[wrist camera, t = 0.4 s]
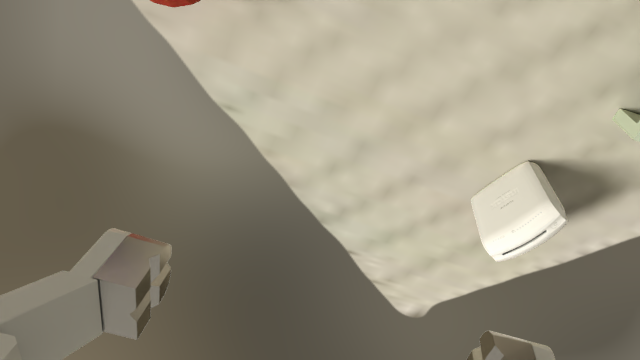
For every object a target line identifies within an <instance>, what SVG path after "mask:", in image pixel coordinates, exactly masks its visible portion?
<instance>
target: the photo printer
mask: <svg viewBox="0 0 640 360" xmlns="http://www.w3.org/2000/svg"><path fill="white" fill-rule="evenodd" d="M471 204H472V208H473V212H474V216H475V220H476V223H477V227H478V231H479V234H480V238H481V241H482V244H483V246H484V248H485V249H486V251H487V252H488V254H489V255H490V256H492V257H493V258H494V259H495V261H497V262H500V261H505V260H509V259H512V258H515V257H517V256H520V255H522V254H524V253H526V252H529V251H531V250H532V249H535V248H536V247H538V246H539V245H541V244H543V243H544V242H546V241H547V240H549V239H550V238H551V237H553V236H554V235H555V234H556V233H558V232H559V231H560V230H561V229H562V228H563V227H564V226H565V225H566V224H567V222H568V218H567V216H566V215H565V210H564V207H563V205H562V204H561V202H560V200H559V198H558V197H557V195H556V193H555V192H554V190H553V188H552V187H551V185H550V183H549V181H548V180H547V178H546V176H545V175H544V173H543V171H542V170H541V168H540V167H539V166H538V165H537V164H535V163H533V162H529V161H526V162H524V163H522V164H520V165H518V166H517V167H515V168H513V169H512V170H510V171H509V172H507V173H506V174H504V175H503V176H501V177H500V178H498V179H497V180H495V181H494V182H492V183H491V184H489V185H488V186H487V187H485V188H484V189H482V190H481V191H480V192H478V193H477V194H476V195H475V196H474V197H473V198H472V199H471Z"/></svg>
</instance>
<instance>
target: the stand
mask: <svg viewBox="0 0 640 360" xmlns="http://www.w3.org/2000/svg"><path fill="white" fill-rule="evenodd" d="M612 120H613V121H614V122H615V123H616V124H617V125H618V126H619V127H620V128H622V129H623V130H624V131H625V132H626V133H627V134H628V135H629V136H630V137H631V138H632V139H633V140H635V141H638V142H640V115H639V114H636V113H633V112H630V111H627V110H623V109H619V110H618V112H617V113H616V114H615V116H614V117H613V119H612Z"/></svg>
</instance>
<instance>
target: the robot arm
mask: <svg viewBox="0 0 640 360" xmlns="http://www.w3.org/2000/svg"><path fill="white" fill-rule="evenodd" d="M170 257H171V245H169V244H166V243H163V242H160V241H156V240H153V239H150V238H146V237H143V236H140V235H136V234H132V233H128V232H125V231H122V230H118V229H115V228H112V229H110V230H108V231H106V232H105V233H104V234H103V236H102V237H101V238H100V239H99V240H98V241H97V242H96V243H95V244H94V245H93V247H92V248H91V249H90V250H89V251H88V252H87V253H86V254H85V255H84V256H83V257H82V258H81V260H80V261H79V262H78V263H77V264H76V265H75V266H74V267H73V268H72V269H71V271H70V272H68V271H61V272H58V273H56V274H53V275H51V276H48V277H46V278H43V279H41V280H38V281H36V282H33V283H31V284H28V285H26V286H23V287H21V288H18V289H16V290H13V291H11V292H8V293H6V294H3V295H1V296H0V360H62V359H64V358H65V357H67V356H68V355H70V354H71V353H73V352H74V351H76V350H78V349H79V348H81V347H82V346H84V345H86V344H87V343H89V342H90V341H92V340H93V339H95V338H96V337H98V336H99V335H101V334H102V333H103V332H107V333H112V334H116V335H119V336H124V337H128V338H132V339H136V340H137V339H138V338H139V336H140V334H141V333H142V331H143V329H144V328H145V326H146V325H147V323H148V321H149V320H150V318H151V308H152V307H154V306H156V305H158V304H159V303H160V301H161V300H162V298H163V296H164V295H165V292H166V290H167V287H168V285H169V280H170V276H171V267H170V266H169V265H168V263H167V262H168V260H169V258H170ZM479 341H480V347H479V348H476V349H473V350H472V351H471V353H470V354H469V356H468V358H467V360H555V357H554V355H553V352H552V350H551V349H550V348H549V347H548V346H545V345H541V344H538V343H534V342H530V341H526V340H523V339H519V338H515V337H511V336H508V335H503V334H500V333H496V332H492V331H486V332H484V333H483V334H482V336H481V337H480V339H479Z"/></svg>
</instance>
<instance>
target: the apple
mask: <svg viewBox="0 0 640 360" xmlns="http://www.w3.org/2000/svg"><path fill="white" fill-rule="evenodd" d="M150 1H152V2H154V3H157V4H162V5H166V6H170V7H179V6H185V5H191V4H194V3H196V2H199V1H200V0H150Z"/></svg>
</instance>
